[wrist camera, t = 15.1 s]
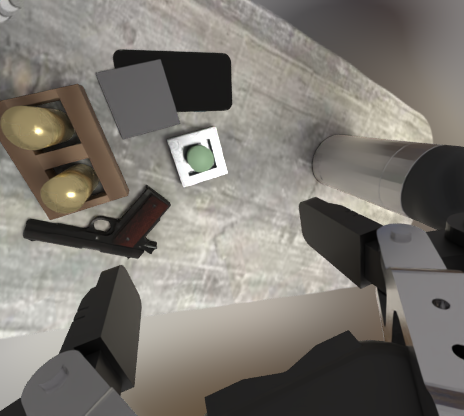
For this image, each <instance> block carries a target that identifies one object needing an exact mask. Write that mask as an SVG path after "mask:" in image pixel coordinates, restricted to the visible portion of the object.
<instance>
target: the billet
mask: <svg viewBox="0 0 464 416" xmlns="http://www.w3.org/2000/svg"><path fill="white" fill-rule="evenodd" d="M1 129H2V131H3V133H4V135H5V136H6V138H7V139H8V140H9V141H10V142H11V143H13V144H14V145H16V146H18V147H20V148H23V149H26V150H39V149H42V148H46V147H49V146H52V145H56V144H59V143H63V142H66V141H68V140H69V139H71V138H72V136H73V134H74V127H73V125H72V123H71V121H70V119H69V117H68V115H67V114H65V113H64V112H62V111H60V110H57V109H50V108H39V107H29V106H15V107H11V108H9V109H8V110H6V111H5V112H4V114H3V115H2V117H1Z"/></svg>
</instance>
